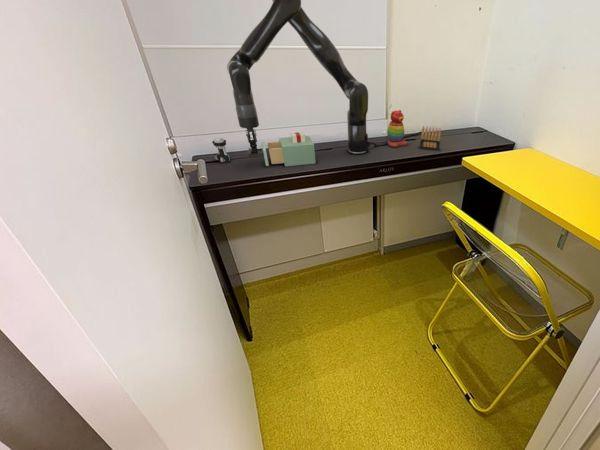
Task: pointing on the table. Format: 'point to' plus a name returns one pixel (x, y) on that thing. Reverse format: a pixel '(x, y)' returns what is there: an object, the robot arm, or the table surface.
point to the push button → (221, 150)
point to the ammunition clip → (430, 139)
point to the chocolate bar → (298, 137)
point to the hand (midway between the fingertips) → (255, 154)
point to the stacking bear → (396, 130)
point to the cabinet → (298, 152)
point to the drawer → (271, 152)
